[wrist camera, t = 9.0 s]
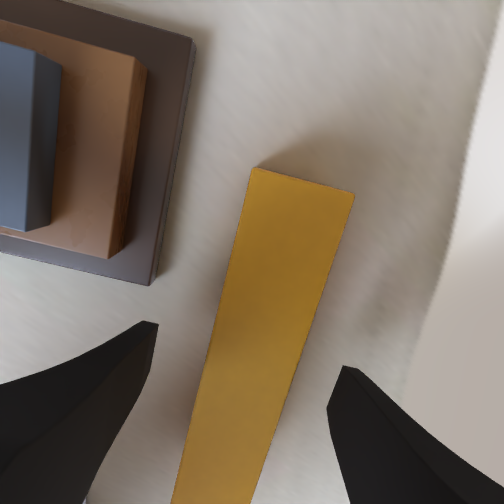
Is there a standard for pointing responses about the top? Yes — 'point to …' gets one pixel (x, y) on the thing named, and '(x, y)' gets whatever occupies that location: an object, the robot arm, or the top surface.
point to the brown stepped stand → (88, 136)
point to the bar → (259, 333)
